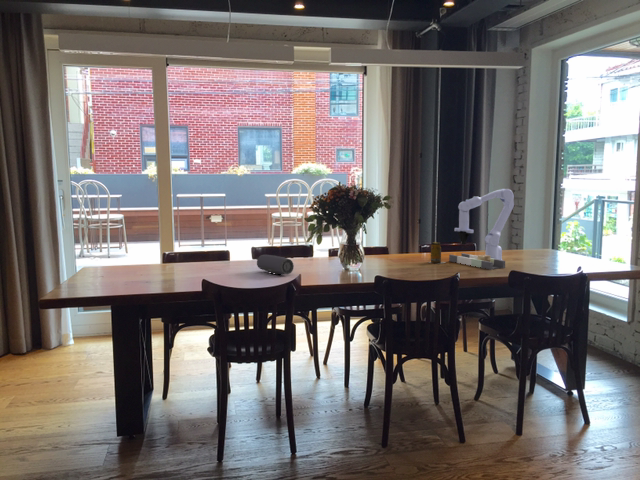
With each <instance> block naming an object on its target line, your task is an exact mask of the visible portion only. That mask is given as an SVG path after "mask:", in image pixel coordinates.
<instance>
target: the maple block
mask: <svg viewBox="0 0 640 480" xmlns="http://www.w3.org/2000/svg"><path fill="white" fill-rule="evenodd" d="M477 256H478V260H483V261H489V262H490V260H491V256H488V255H485V254H480V255H477Z"/></svg>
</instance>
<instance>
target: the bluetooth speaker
mask: <svg viewBox="0 0 640 480" xmlns="http://www.w3.org/2000/svg"><path fill="white" fill-rule="evenodd" d="M256 266H257V268H258V269H260V270H263V271H266V272H267V273H268V272H271V273H275V274H282V275H289V274H291V273H292V272H293V271H294V263H293V261H292V260H291V259H290V258H287V257H284V256H278V255H271V254H260V255H259V256H258V257H257V260H256Z"/></svg>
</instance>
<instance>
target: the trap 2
mask: <svg viewBox="0 0 640 480" xmlns="http://www.w3.org/2000/svg"><path fill="white" fill-rule="evenodd" d="M498 269H504V268H503V267H498V266H493V269H492V270H498Z"/></svg>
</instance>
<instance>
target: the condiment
mask: <svg viewBox="0 0 640 480" xmlns="http://www.w3.org/2000/svg"><path fill="white" fill-rule="evenodd" d="M428 263H430V264H438V265H441V264H446V263H447V262H446V261H445V262H444V261H442V247H441V242H437V241H434V242H431V247H430V261H428Z"/></svg>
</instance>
